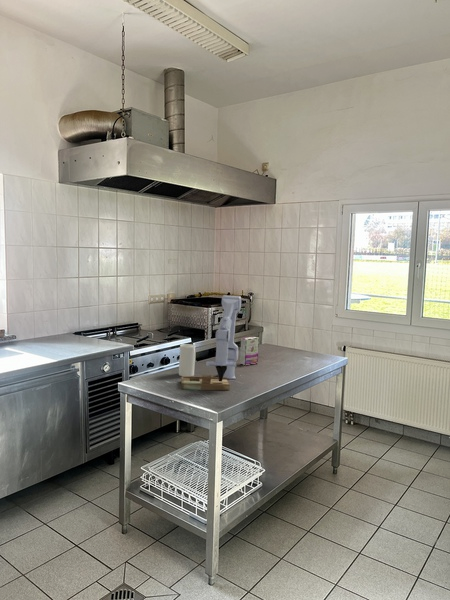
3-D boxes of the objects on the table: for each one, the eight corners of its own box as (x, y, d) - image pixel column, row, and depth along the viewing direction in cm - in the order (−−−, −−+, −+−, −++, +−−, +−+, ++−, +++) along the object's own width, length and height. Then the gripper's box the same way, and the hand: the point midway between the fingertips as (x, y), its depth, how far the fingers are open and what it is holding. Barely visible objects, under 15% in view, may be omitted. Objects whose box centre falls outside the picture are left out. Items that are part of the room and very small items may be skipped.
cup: (196, 374, 240) (198, 345, 239) (188, 377, 233) (189, 347, 232) (184, 371, 244) (186, 343, 243) (175, 374, 237) (177, 345, 236)
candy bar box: (252, 362, 277) (253, 336, 275) (257, 364, 273) (259, 337, 271) (239, 364, 269) (240, 337, 268) (244, 366, 266) (246, 339, 264)
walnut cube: (202, 382, 218) (202, 374, 218) (210, 382, 218) (210, 374, 218) (202, 384, 214) (202, 376, 214) (210, 384, 214) (210, 376, 214)
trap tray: (181, 381, 224) (181, 376, 224) (226, 382, 227) (226, 377, 227) (181, 389, 211) (182, 383, 211) (229, 390, 214) (229, 384, 214)
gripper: (207, 354, 211) (206, 382, 212) (237, 355, 213) (236, 383, 214) (206, 351, 218) (205, 378, 219) (235, 352, 220) (234, 379, 221)
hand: (220, 380), depth 217 cm, fingers closed
